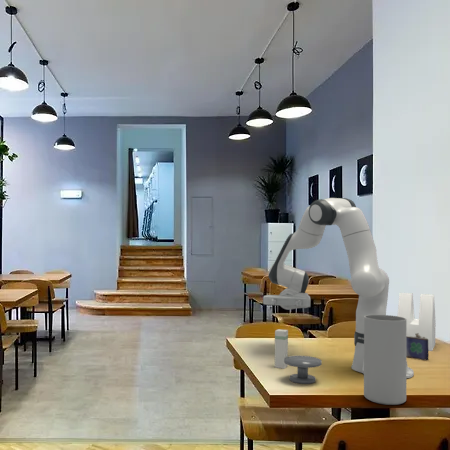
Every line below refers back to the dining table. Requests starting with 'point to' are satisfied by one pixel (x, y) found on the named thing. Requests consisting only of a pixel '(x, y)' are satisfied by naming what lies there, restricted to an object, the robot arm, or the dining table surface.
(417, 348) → the flask
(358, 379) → the dining table surface
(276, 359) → the column
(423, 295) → the white u-shaped block
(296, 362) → the pedestal
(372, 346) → the cylinder vase
